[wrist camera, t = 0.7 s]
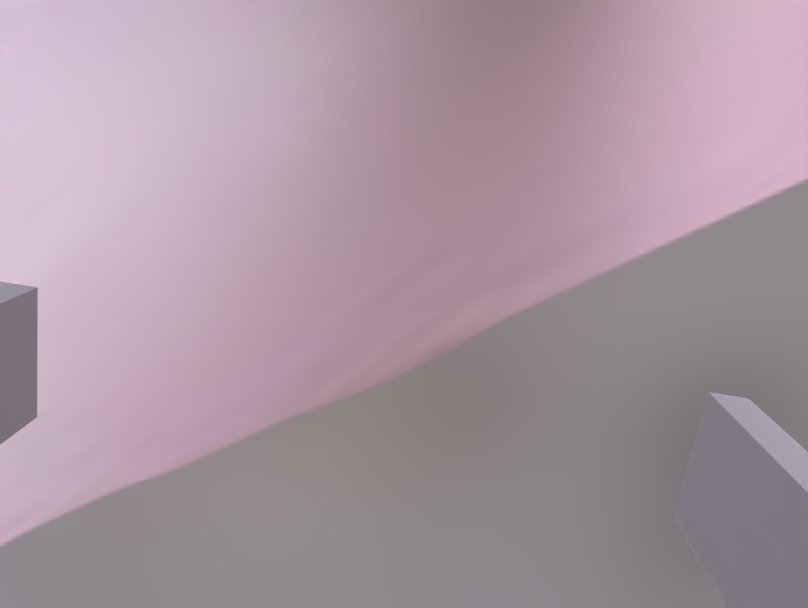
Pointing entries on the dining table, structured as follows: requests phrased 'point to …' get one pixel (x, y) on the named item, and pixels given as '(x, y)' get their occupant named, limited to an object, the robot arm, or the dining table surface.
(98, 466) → the dining table surface
